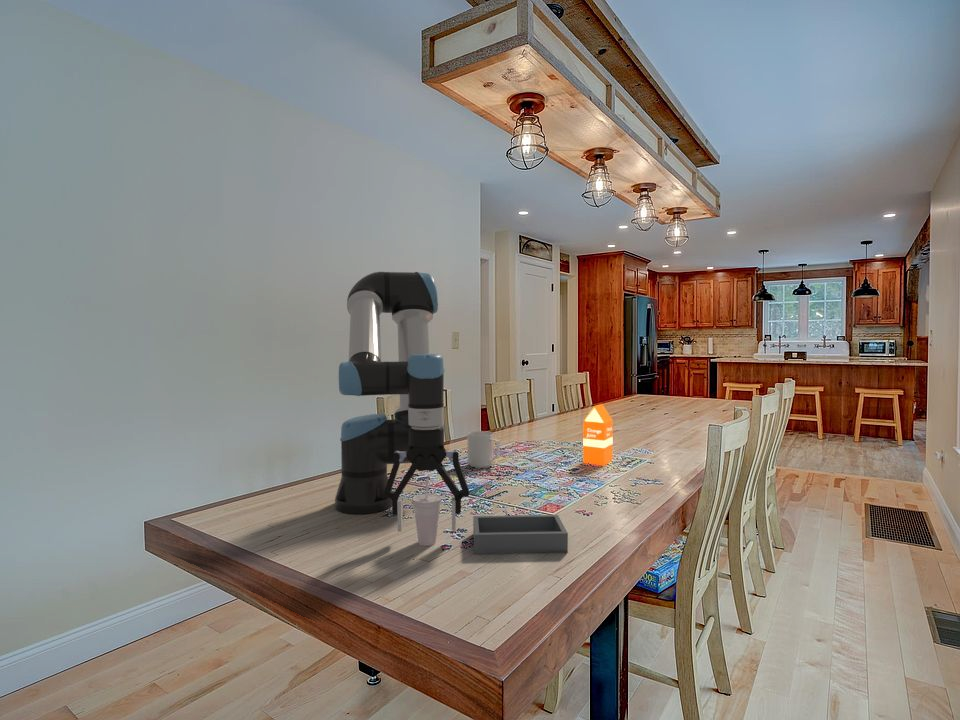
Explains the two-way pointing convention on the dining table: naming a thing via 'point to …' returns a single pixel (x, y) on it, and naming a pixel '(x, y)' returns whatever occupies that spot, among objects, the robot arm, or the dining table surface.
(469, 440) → the mug
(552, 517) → the tray
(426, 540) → the smoothie
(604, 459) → the orange juice
